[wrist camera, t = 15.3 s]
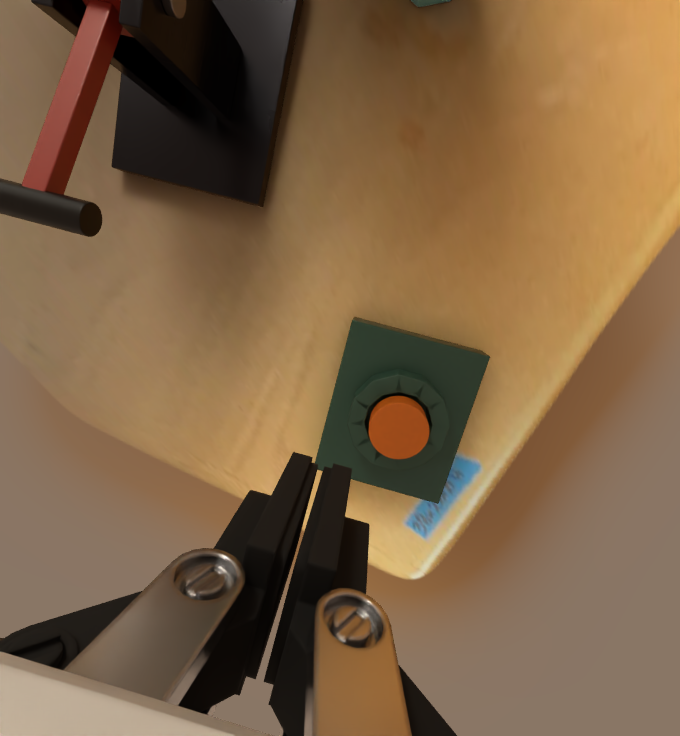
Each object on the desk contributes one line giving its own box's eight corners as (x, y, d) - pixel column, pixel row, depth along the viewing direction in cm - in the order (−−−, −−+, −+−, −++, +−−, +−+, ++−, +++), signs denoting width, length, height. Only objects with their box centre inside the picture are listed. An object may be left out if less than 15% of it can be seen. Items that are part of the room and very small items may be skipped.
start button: (378, 388, 28) (377, 395, 26) (433, 404, 28) (437, 412, 26) (362, 440, 29) (361, 450, 27) (417, 455, 29) (419, 466, 27)
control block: (354, 316, 31) (350, 322, 27) (482, 350, 30) (497, 361, 26) (317, 456, 34) (309, 480, 30) (434, 489, 33) (441, 517, 29)
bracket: (263, 207, 30) (188, 164, 18) (122, 171, 30) (-37, 106, 19) (306, -15, 26) (248, -238, 15) (147, -52, 27) (-29, -297, 15)
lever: (102, 246, 19) (66, 222, 16) (1, 219, 19) (-49, 192, 16) (188, -4, 20) (166, -61, 17) (92, -27, 20) (57, -86, 18)
